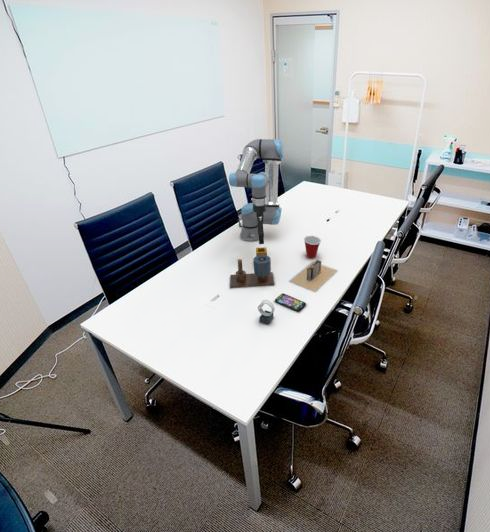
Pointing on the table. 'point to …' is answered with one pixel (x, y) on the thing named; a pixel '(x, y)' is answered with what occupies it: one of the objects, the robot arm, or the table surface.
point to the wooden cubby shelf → (261, 251)
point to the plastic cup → (312, 245)
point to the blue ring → (262, 265)
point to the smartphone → (290, 302)
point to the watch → (266, 312)
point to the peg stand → (249, 278)
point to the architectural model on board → (313, 276)
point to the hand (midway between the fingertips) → (260, 238)
